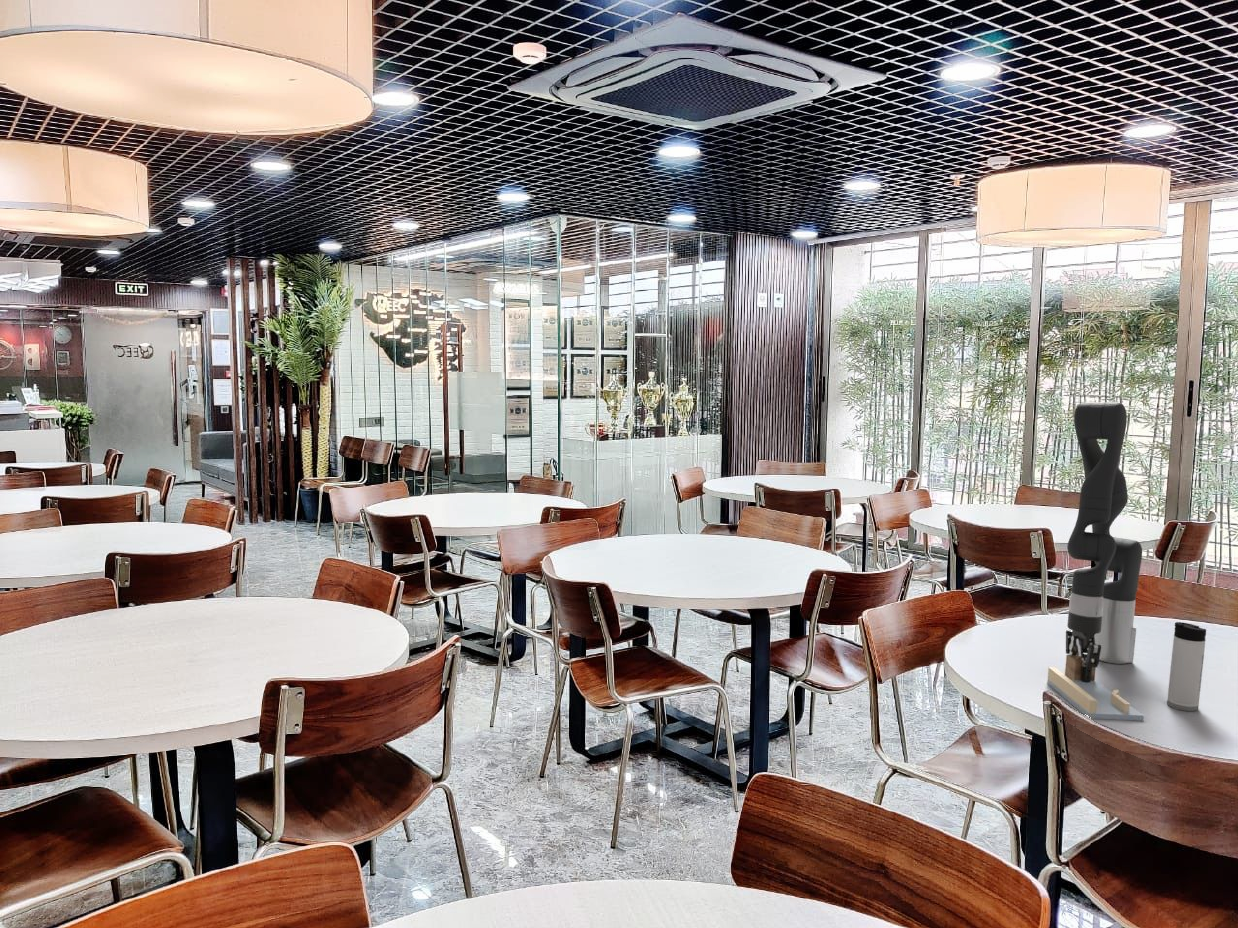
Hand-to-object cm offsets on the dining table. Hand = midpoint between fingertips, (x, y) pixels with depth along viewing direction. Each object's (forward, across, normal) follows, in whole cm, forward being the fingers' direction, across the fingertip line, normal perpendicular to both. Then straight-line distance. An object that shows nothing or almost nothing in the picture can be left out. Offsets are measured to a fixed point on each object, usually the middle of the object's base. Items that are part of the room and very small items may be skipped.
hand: (1079, 677), depth 226 cm
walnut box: (+1, 0, 0) cm, 1 cm away
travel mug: (+1, -14, -17) cm, 22 cm away
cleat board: (+1, -13, +3) cm, 14 cm away
